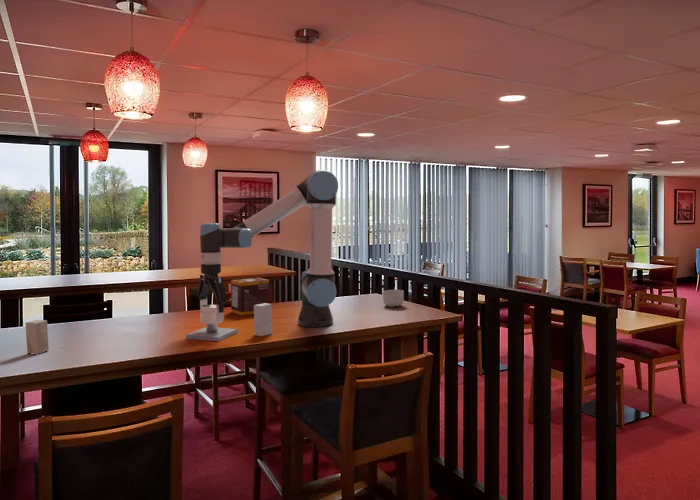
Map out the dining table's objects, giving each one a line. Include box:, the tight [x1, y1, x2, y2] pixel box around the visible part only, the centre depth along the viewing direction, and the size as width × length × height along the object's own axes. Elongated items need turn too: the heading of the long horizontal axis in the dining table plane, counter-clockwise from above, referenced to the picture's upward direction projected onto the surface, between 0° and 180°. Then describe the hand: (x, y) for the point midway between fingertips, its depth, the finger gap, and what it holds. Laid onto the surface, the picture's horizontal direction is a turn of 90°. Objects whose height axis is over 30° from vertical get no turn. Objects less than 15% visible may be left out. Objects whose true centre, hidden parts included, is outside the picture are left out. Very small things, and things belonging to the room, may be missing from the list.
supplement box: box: [230, 277, 270, 316], centre depth 250 cm, size 10×15×16 cm
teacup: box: [382, 289, 405, 306], centre depth 266 cm, size 14×11×8 cm
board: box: [185, 326, 238, 342], centre depth 203 cm, size 14×14×2 cm
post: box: [205, 323, 219, 333], centre depth 203 cm, size 4×4×8 cm
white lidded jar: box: [199, 304, 224, 325], centre depth 203 cm, size 8×8×7 cm
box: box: [25, 319, 50, 354], centre depth 178 cm, size 5×4×11 cm
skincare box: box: [253, 303, 273, 337], centre depth 205 cm, size 6×4×12 cm
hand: (211, 318), depth 203 cm, fingers open, 12 cm apart
